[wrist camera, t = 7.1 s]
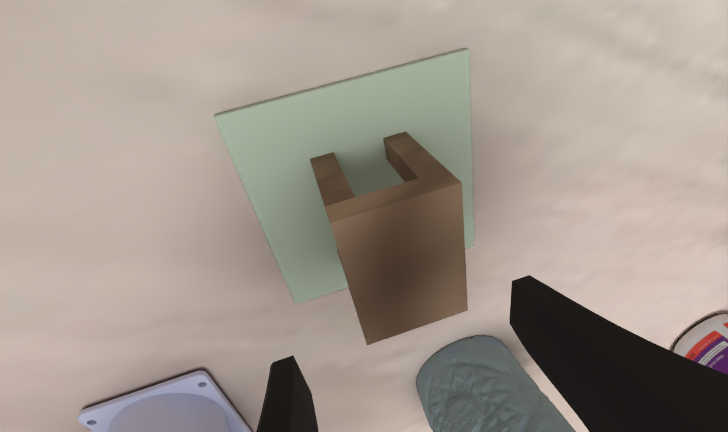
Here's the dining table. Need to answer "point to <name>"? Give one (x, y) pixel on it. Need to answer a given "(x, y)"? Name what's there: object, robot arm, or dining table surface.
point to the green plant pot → (484, 391)
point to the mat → (345, 154)
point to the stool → (399, 240)
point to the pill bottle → (707, 343)
